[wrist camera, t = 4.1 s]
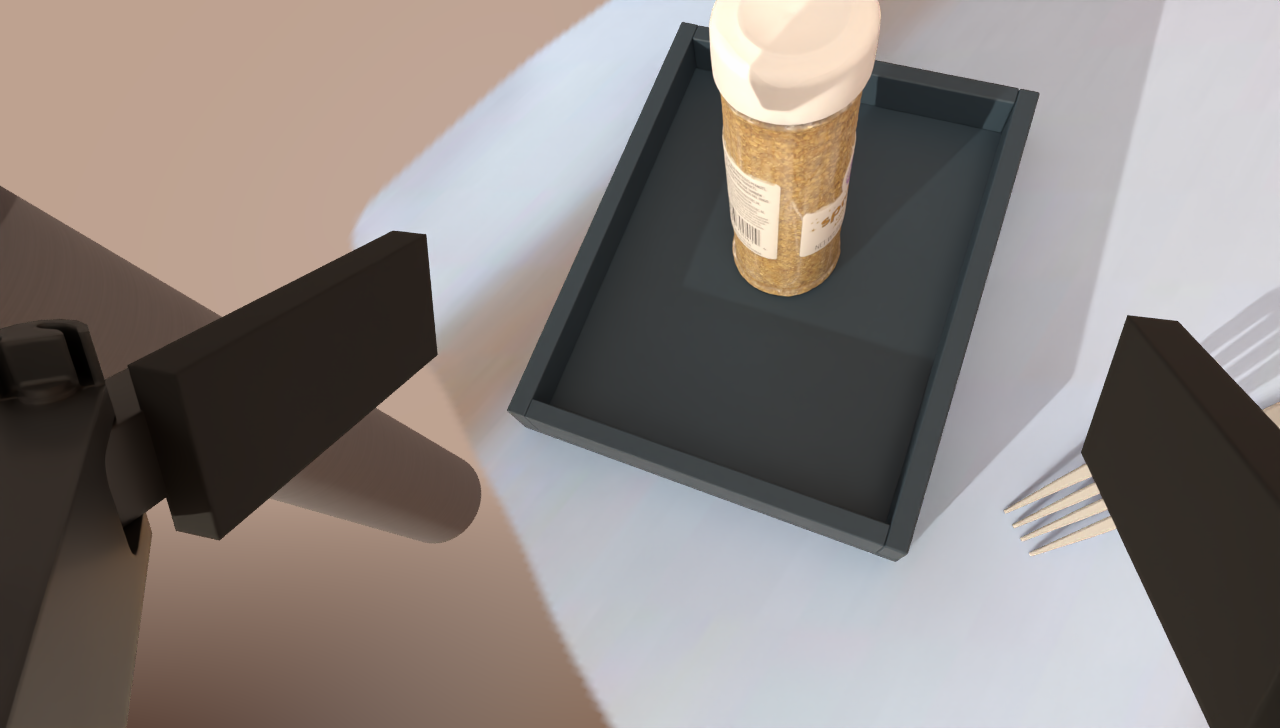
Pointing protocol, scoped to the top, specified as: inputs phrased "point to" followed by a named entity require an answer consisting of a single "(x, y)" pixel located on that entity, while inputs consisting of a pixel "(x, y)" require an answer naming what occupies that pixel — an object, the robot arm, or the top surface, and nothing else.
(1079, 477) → the fork
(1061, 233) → the top surface
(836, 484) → the tray
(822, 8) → the sprinkles bottle
